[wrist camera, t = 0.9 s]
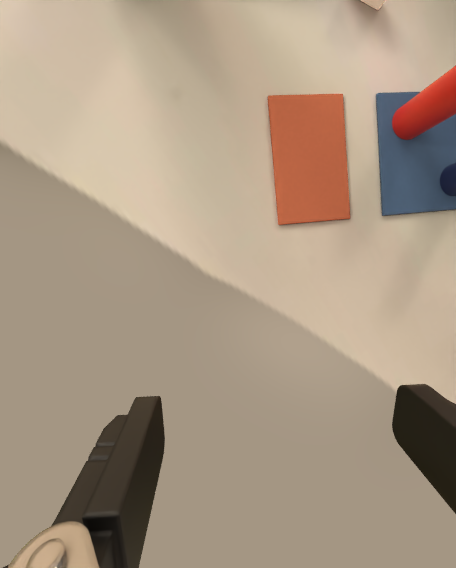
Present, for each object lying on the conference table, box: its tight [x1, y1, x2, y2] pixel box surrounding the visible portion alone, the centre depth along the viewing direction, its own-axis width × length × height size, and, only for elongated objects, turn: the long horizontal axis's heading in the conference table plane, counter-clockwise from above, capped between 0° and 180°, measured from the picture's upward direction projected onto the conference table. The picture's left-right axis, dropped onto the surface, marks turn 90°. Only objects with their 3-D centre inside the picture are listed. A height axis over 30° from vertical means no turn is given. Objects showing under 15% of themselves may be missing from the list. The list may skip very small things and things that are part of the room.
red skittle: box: [392, 66, 456, 140], centre depth 30 cm, size 4×4×11 cm
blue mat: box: [376, 92, 456, 216], centre depth 37 cm, size 16×14×1 cm
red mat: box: [268, 94, 350, 225], centre depth 35 cm, size 16×10×1 cm, turn 6°
